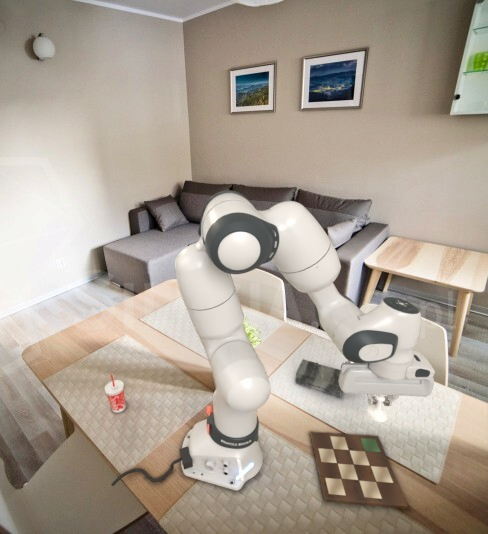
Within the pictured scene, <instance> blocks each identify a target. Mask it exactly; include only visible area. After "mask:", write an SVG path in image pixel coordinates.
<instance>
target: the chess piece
mask: <svg viewBox="0 0 488 534" xmlns="http://www.w3.org/2000/svg"><path fill="white" fill-rule="evenodd" d="M374 396H375V399H376V400H377V403H376V406H375V405H369V404H368V406H367V407H366V409H365V413H366V415H367V417H369V418H370V419H371V420H372V421H375V422H378V423H383V422H386V421H387V420H388V418H389V413H388V411H387V409H385V408H384V407H383V401H385V397H384V396H385V395H374Z"/></svg>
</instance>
